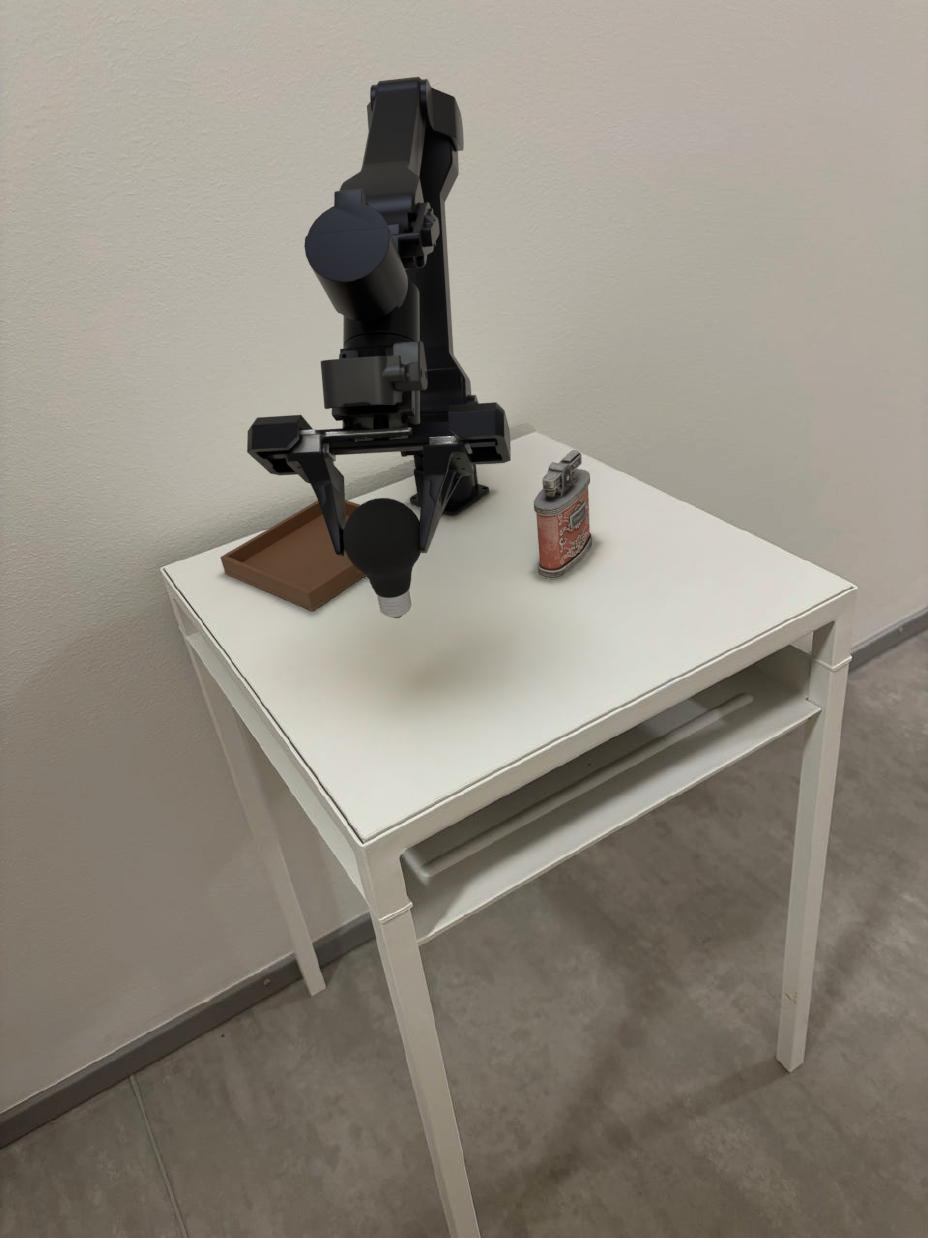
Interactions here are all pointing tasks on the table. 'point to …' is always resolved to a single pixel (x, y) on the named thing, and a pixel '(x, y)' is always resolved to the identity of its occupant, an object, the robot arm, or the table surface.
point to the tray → (295, 560)
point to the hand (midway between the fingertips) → (381, 553)
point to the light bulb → (384, 550)
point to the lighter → (563, 517)
